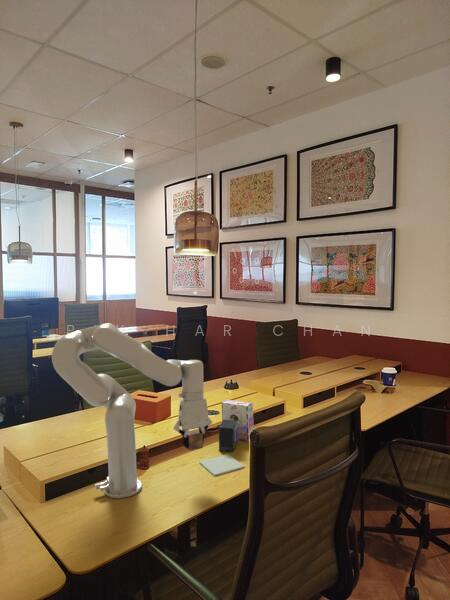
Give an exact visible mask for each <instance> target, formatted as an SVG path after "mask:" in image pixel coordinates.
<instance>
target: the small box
mask: <svg viewBox="0 0 450 600" xmlns="http://www.w3.org/2000/svg"><path fill="white" fill-rule="evenodd" d="M237 443H238V440H237V420H225V419H224V420H223V421H221V423H220V424H219V426H218V451H219V452H226V453H234V450H235V449H236V446H237Z"/></svg>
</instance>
